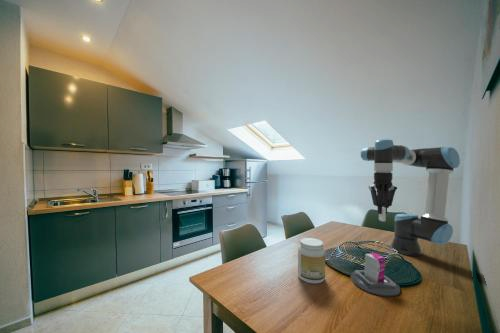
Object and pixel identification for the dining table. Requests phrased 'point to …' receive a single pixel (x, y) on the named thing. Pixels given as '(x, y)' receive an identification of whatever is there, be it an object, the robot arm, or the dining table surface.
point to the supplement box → (374, 267)
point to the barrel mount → (375, 285)
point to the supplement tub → (311, 260)
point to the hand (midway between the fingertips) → (382, 220)
